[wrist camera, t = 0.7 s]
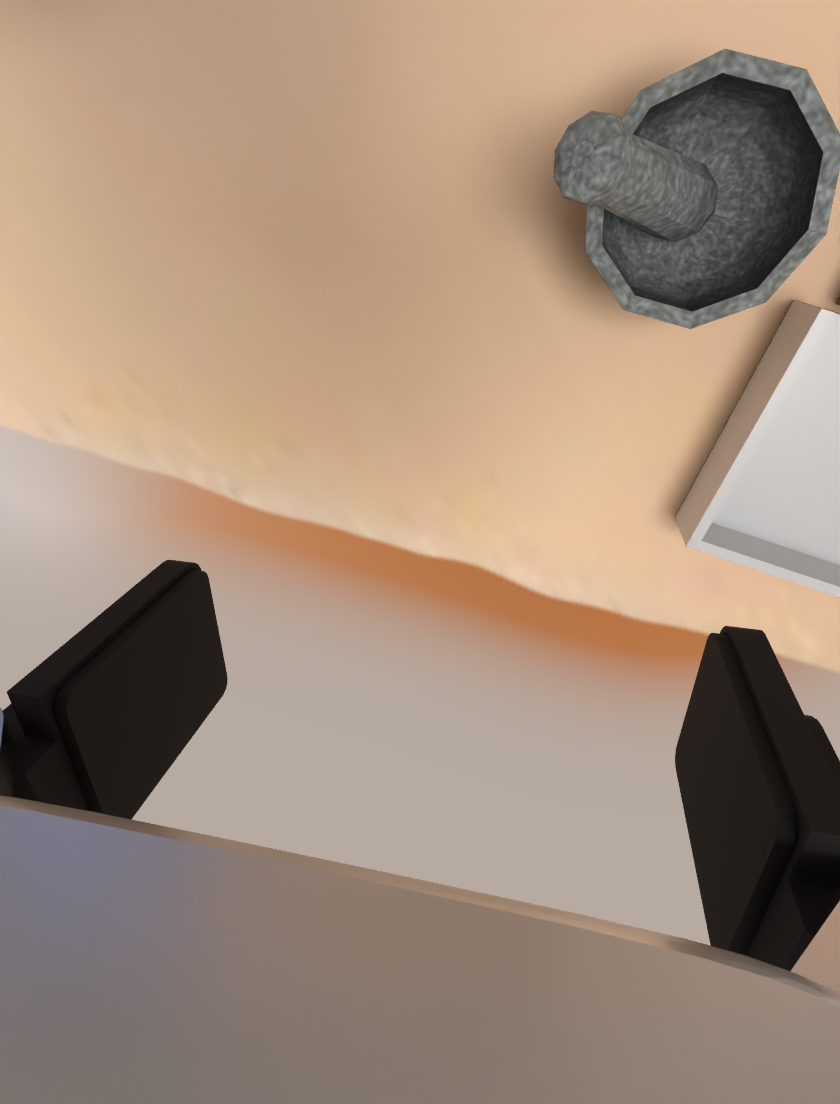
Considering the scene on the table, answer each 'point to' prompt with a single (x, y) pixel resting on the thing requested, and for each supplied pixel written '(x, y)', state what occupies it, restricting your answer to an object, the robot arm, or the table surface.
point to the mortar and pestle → (704, 187)
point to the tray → (778, 462)
